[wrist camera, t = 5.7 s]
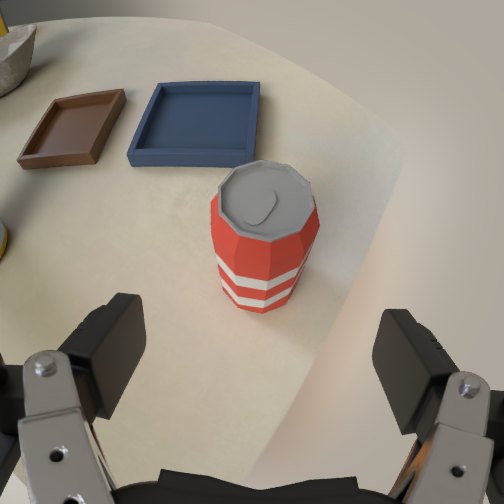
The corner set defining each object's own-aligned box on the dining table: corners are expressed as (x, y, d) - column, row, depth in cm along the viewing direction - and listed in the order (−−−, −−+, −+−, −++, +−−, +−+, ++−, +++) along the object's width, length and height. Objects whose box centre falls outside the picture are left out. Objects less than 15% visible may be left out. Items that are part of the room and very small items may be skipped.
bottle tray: (126, 99, 39) (123, 88, 37) (95, 164, 33) (89, 152, 32) (58, 109, 39) (54, 99, 37) (23, 169, 34) (16, 160, 32)
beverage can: (208, 291, 27) (182, 214, 16) (248, 235, 29) (249, 139, 19) (270, 329, 26) (287, 273, 15) (307, 267, 28) (341, 182, 17)
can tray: (259, 94, 39) (260, 81, 37) (253, 169, 33) (253, 155, 31) (160, 94, 39) (158, 82, 37) (131, 166, 33) (126, 154, 31)
